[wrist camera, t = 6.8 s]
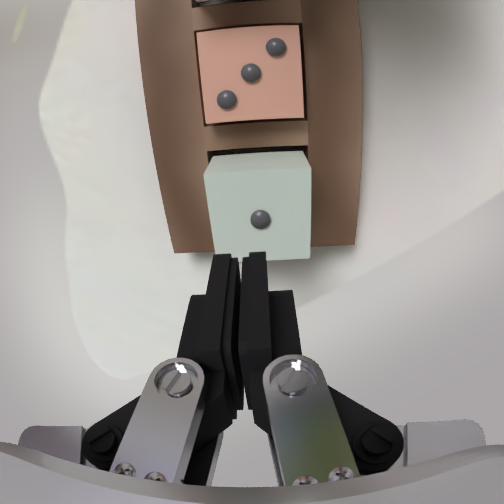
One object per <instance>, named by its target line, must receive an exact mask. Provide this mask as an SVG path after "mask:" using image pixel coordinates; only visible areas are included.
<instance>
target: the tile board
mask: <svg viewBox="0 0 504 504" xmlns="http://www.w3.org/2000/svg"><path fill="white" fill-rule="evenodd" d="M135 8H136V22H137V34H138V44H139V54H140V63H141V72H142V80H143V88H144V95H145V102H146V109H147V116H148V123H149V129H150V135H151V141H152V147H153V153H154V158H155V164H156V169H157V174H158V180H159V185H160V190H161V195H162V200H163V204H164V209H165V214H166V218H167V223H168V227H169V232H170V236H171V241H172V245H173V249H174V253H190V252H210V251H215V249H214V242H213V236H212V230H211V223H210V217H209V210H208V203H207V196H206V190H205V183H204V175H203V174H204V172H205V170H206V168H207V167H208V165H209V163H210V161H211V159H212V157H213V156H214V152H213V151H215V150H226V149H239V148H253V147H271V146H298V145H303V152H304V155H305V157H306V159H307V161H308V163H309V165H310V167H311V240H310V247H313V246H334V245H355V236H356V226H357V216H358V204H359V191H360V176H361V157H362V127H363V82H362V53H361V35H360V22H359V10H358V0H264V1H247V2H235V3H225V4H217V5H210V6H203V7H199V5H198V2H197V1H196V0H135ZM275 25H299V36H300V50H301V65H302V83H303V105H304V118H278V119H258V120H243V121H231V122H220V123H210V124H206V121H205V112H204V103H203V94H202V85H201V75H200V65H199V55H198V45H197V34H196V33H198V32H205V31H213V30H221V29H230V28H240V27H254V26H275Z"/></svg>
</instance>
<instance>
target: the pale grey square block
mask: <svg viewBox="0 0 504 504" xmlns="http://www.w3.org/2000/svg"><path fill="white" fill-rule="evenodd" d="M203 175H204V183H205V190H206V196H207V203H208V210H209V217H210V223H211V230H212V236H213V242H214V249H215V254H229V253H231V256H232V258H236V257H238V262H242V260H243V257H249V252H262V251H266V261H269V260H290V259H310V240H311V167H310V165H309V163H308V161H307V159H306V157H305V155H304V153H303V151H285V152H263V153H247V154H233V155H221V156H213V157H212V159H211V161H210V163H209V165H208V167H207V168H206V170H205V172H204V174H203Z"/></svg>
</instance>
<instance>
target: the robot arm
mask: <svg viewBox="0 0 504 504" xmlns="http://www.w3.org/2000/svg"><path fill="white" fill-rule="evenodd" d="M244 388H245V393H246V398H247V404H248V409H249V410H253V416H254V423H255V424H256V425H257V426H258V427H260V428H261V429H262V430H264V431H265V432H266V433H267V434H268V439H269V445H270V449H271V454H272V459H273V464H274V468H275V473H276V477H277V482H278V487H247V488H246V487H212V486H211V484H212V480H213V476H214V472H215V468H216V464H217V460H218V456H219V452H220V448H221V444H222V439H223V431H224V430H225V429H226V428H228V427H229V426H230V425H231V424H232V420H233V419H236V418H237V410H243V405H244ZM0 504H504V445H487V446H486V443H485V435H484V432H483V429H482V428H481V427H480V425H479V424H478V423H476V422H474V421H472V420H465V419H464V420H453V421H439V422H418V423H407V424H406V425H405V426H396V425H394V424H393V423H391V422H390V421H388V420H386V419H385V418H383V417H381V416H379V415H377V414H376V413H374V412H372V411H371V410H369V409H367V408H365V407H364V406H362V405H360V404H358V403H357V402H355V401H353V400H352V399H350V398H348V397H347V396H345V395H343V394H341V393H340V392H338V391H337V390H335V389H333V388H332V387H330V386H328V385H327V383H326V380H325V377H324V375H323V372H322V370H321V368H320V367H319V365H318V364H317V363H316V362H315V361H313V360H312V359H310V358H308V357H306V356H302V352H301V345H300V338H299V330H298V324H297V318H296V310H295V303H294V297H293V291H292V290H284V291H268V279H267V262H266V251H262V252H249V257H243V260H242V278H241V279H240V271H239V262H238V257H236V258H232V256H231V253H229V254H214V256H213V260H212V265H211V270H210V275H209V280H208V286H207V291H206V295H192V296H191V298H190V302H189V306H188V310H187V314H186V318H185V323H184V327H183V331H182V336H181V340H180V344H179V349H178V353H177V358H173V359H168V360H166V361H164V362H162V363H160V364H159V365H158V366H157V367H155V368H154V370H153V371H152V373H151V374H150V376H149V378H148V381H147V383H146V385H145V387H144V390H143V392H142V394H141V395H140V396H138V397H137V398H135V399H134V400H132V401H131V402H129V403H128V404H126V405H124V406H123V407H121V408H120V409H118V410H116V411H115V412H113V413H112V414H110V415H109V416H107V417H105V418H104V419H102V420H100V421H99V422H97V423H95V424H94V425H93V426H91V427H90V428H89V429H84V428H83V427H82V426H31V427H28V428H27V429H25V430H24V431H23V433H22V434H21V436H20V439H19V443H18V445H16V444H11V443H6V442H0Z"/></svg>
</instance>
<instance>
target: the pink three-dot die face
mask: <svg viewBox="0 0 504 504" xmlns="http://www.w3.org/2000/svg"><path fill="white" fill-rule="evenodd" d="M196 34H197V45H198V55H199V65H200V75H201V85H202V94H203V103H204V112H205V121H206V124H210V123H220V122H231V121H243V120H258V119H278V118H304V105H303V83H302V65H301V50H300V36H299V25H275V26H254V27H240V28H230V29H221V30H213V31H205V32H198V33H196Z"/></svg>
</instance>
